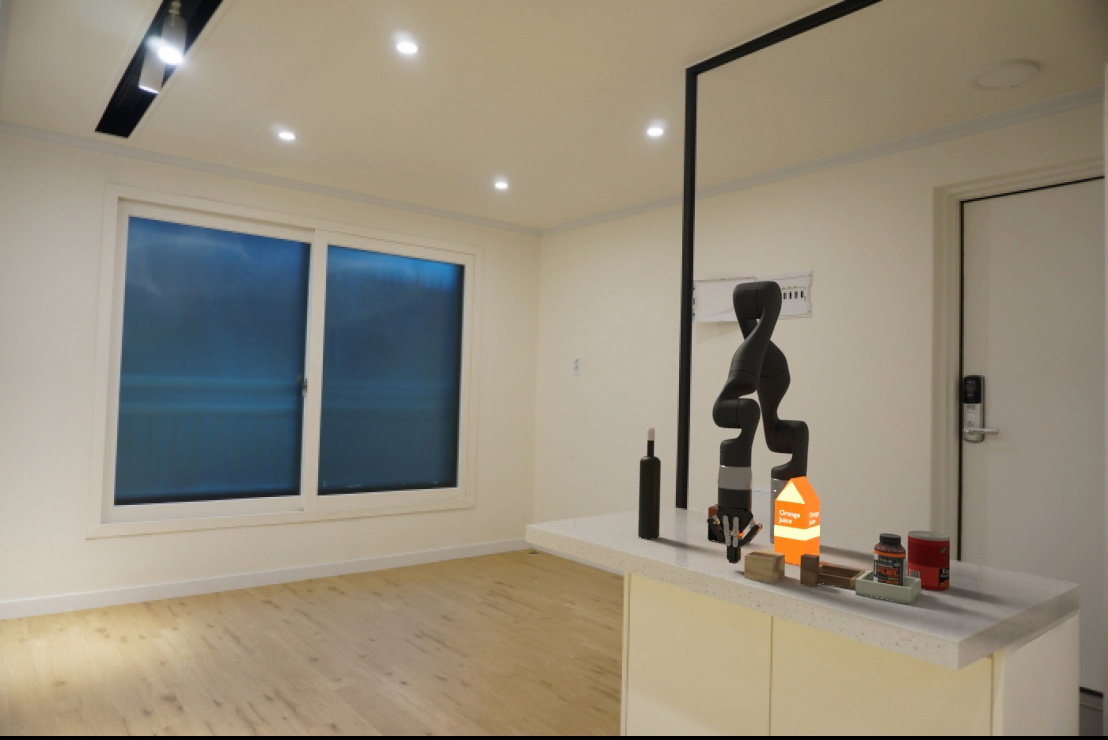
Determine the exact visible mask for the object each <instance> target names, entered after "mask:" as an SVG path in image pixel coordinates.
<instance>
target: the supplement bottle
mask: <svg viewBox="0 0 1108 740" xmlns="http://www.w3.org/2000/svg"><path fill="white" fill-rule="evenodd" d="M878 540H879V542H878V543H876V544H875V545H874V548H873V570H872V571H873V581H874V582H880V583H885V584H891V585H897V586H902V587H905V577H906V571H907V569H906V568H907V565H906V564H907V551H906V548H905V547H904V546H903V545H902V536H901V535H899V534H895V533H885V532H883V533H879V539H878Z"/></svg>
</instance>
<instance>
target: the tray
mask: <svg viewBox="0 0 1108 740" xmlns="http://www.w3.org/2000/svg"><path fill="white" fill-rule="evenodd" d="M905 576H906V575H905ZM855 593H856V594H855ZM854 594H855V595H857V594H862V595H867V596H872V597H871V598H873V597H878V598H883V599H888V600H887V601H889V600H892V601H891V602H894V601H897V602H896V603H899V602H902V603H901V604H905V603H907V604H906V605H912V604H913V603H914V602H915V600H917V598H918V597H919V596H920V595H922V589H921V579H919V578H913V577H907V576H906V577H905V587H902V586H897V585H891V584H885V583H880V582H874V581H873V570H867V571H865V573H864V574H862V575H861V576H859V577H858V578H857V579H855V589H854ZM862 595H861V596H862ZM867 596H866V597H867ZM878 598H877V599H878ZM883 599H882V600H883Z"/></svg>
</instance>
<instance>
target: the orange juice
mask: <svg viewBox="0 0 1108 740" xmlns="http://www.w3.org/2000/svg"><path fill="white" fill-rule="evenodd" d="M820 509H821V500H820V498H819V496H818V495H817V493H816V492H815V490H814V488H813V487H812V485H811V483H810V482H809V481H808V478H807V476H806V477H799V478H793V479H791V480H790V481H789V482H788V484H787V485H786V486H785V488H784V489H783V491H782V492H781V493H780V495H779V496H778V497H777V499H776V500H775V525H774V543H773V547H774V548H773V552H777V553H783V554H785V562H788V563H787V564H789V563H794V564H793V565H795V564H799V565H798V566H800V556H801V555H803V554H805V553H806V554H812V555H818V556H819V557H820V535H821V534H820V533H821V531H820V530H821V529H820V528H821V526H820V522H821V521H820V519H821V518H820V517H821V510H820Z"/></svg>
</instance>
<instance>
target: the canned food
mask: <svg viewBox="0 0 1108 740" xmlns="http://www.w3.org/2000/svg"><path fill="white" fill-rule="evenodd" d="M950 540H951V538H950V535H948V534H945V533H942V532H936V531H928V530H909V531H908V532H907V566H906V568H907V569H906V571H907V577H913V578H919V579H921V590H929V591H939V592H941V591H947V590H948V589H949V587H950V577H951V576H950V575H951V574H950V570H951V569H950V567H951V566H950V565H951V564H950V563H951V561H950V559H951V543H950Z"/></svg>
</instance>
